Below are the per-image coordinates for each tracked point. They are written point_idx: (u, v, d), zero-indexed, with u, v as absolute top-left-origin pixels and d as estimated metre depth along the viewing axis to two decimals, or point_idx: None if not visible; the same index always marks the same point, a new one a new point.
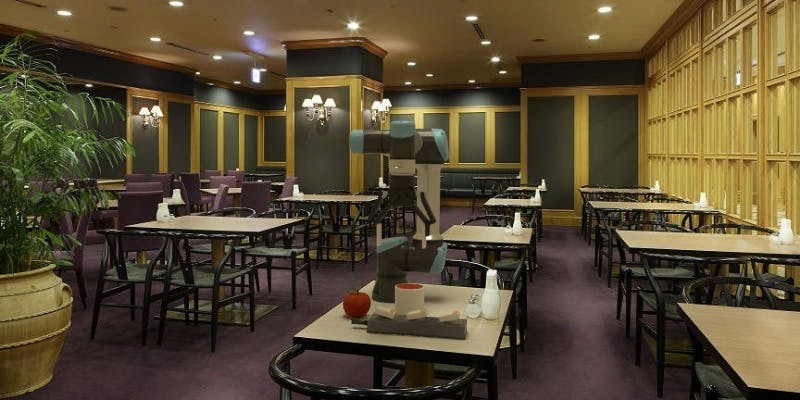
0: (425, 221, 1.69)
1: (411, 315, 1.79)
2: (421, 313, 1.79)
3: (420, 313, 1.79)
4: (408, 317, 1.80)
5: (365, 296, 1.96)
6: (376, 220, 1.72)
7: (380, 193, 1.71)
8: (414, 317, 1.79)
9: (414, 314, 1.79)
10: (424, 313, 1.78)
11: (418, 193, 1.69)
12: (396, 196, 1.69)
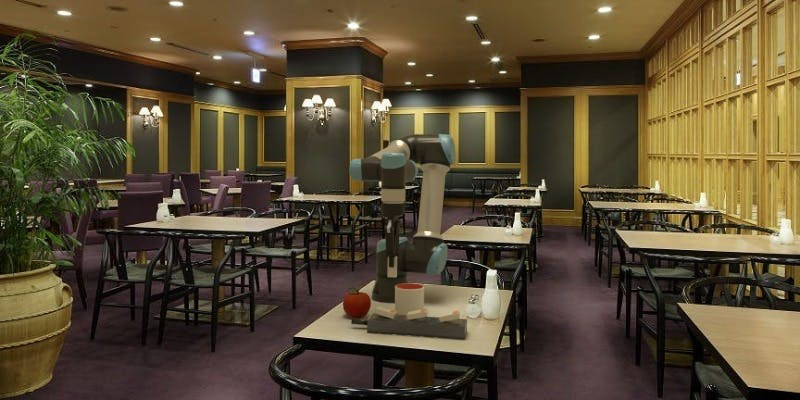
0: None
1: (411, 315, 1.79)
2: (421, 313, 1.79)
3: (420, 313, 1.79)
4: (408, 317, 1.80)
5: (365, 296, 1.96)
6: None
7: None
8: (414, 317, 1.79)
9: (414, 314, 1.79)
10: (424, 313, 1.78)
11: None
12: None
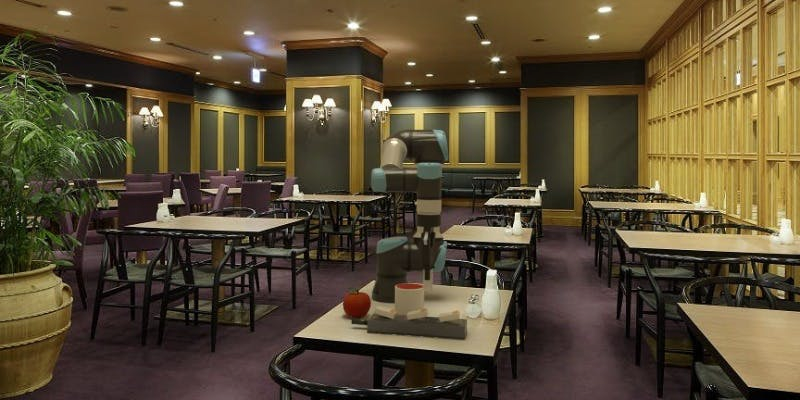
0: None
1: (411, 315, 1.79)
2: (421, 313, 1.79)
3: (420, 313, 1.79)
4: (408, 317, 1.80)
5: (365, 296, 1.96)
6: None
7: None
8: (414, 317, 1.79)
9: (414, 314, 1.79)
10: (424, 313, 1.78)
11: None
12: None
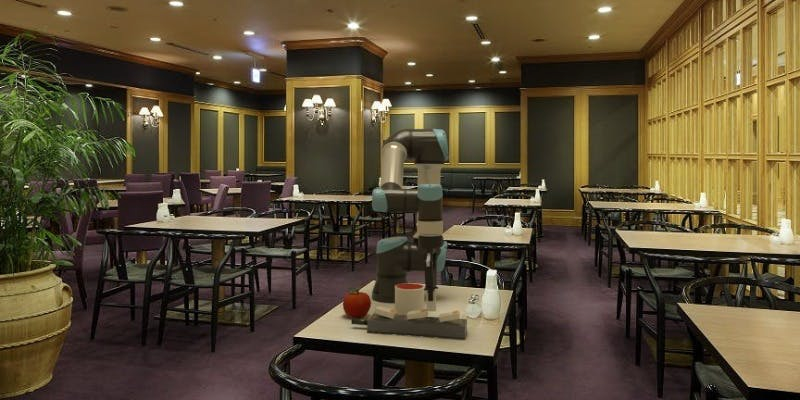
0: None
1: (411, 315, 1.79)
2: (421, 313, 1.79)
3: (420, 313, 1.79)
4: (408, 317, 1.80)
5: (365, 296, 1.96)
6: None
7: None
8: (414, 317, 1.79)
9: (414, 314, 1.79)
10: (424, 313, 1.78)
11: None
12: None
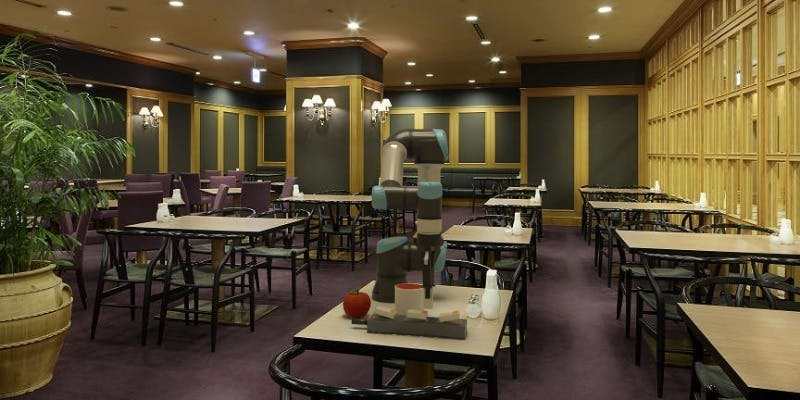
0: None
1: (411, 313, 1.79)
2: (422, 315, 1.79)
3: (421, 314, 1.79)
4: (408, 314, 1.79)
5: (365, 296, 1.96)
6: None
7: None
8: (414, 316, 1.79)
9: (414, 313, 1.79)
10: (424, 316, 1.78)
11: None
12: (423, 251, 1.80)
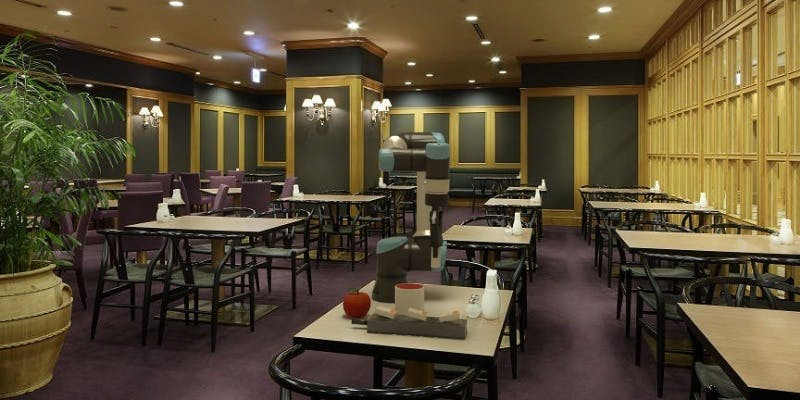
0: None
1: (412, 313, 1.79)
2: (422, 316, 1.79)
3: (421, 315, 1.79)
4: (408, 313, 1.79)
5: (365, 296, 1.96)
6: None
7: None
8: (413, 316, 1.79)
9: (415, 313, 1.79)
10: (424, 317, 1.78)
11: None
12: None
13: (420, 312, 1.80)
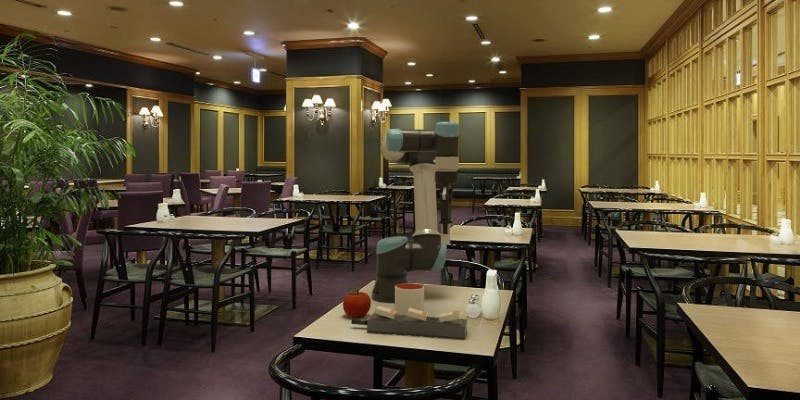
0: None
1: (412, 313, 1.79)
2: (422, 316, 1.79)
3: (421, 315, 1.79)
4: (408, 313, 1.79)
5: (365, 296, 1.96)
6: None
7: None
8: (413, 316, 1.79)
9: (415, 313, 1.79)
10: (424, 317, 1.78)
11: (443, 192, 1.83)
12: (440, 189, 1.89)
13: (420, 312, 1.80)
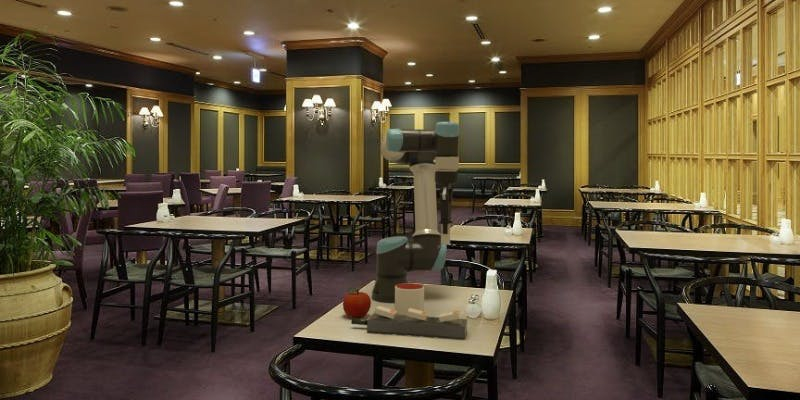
0: None
1: (411, 313, 1.79)
2: (422, 315, 1.79)
3: (421, 315, 1.79)
4: (408, 313, 1.79)
5: (365, 296, 1.96)
6: None
7: None
8: (413, 316, 1.79)
9: (415, 313, 1.79)
10: (424, 317, 1.78)
11: (443, 192, 1.83)
12: (440, 189, 1.89)
13: (420, 312, 1.80)
